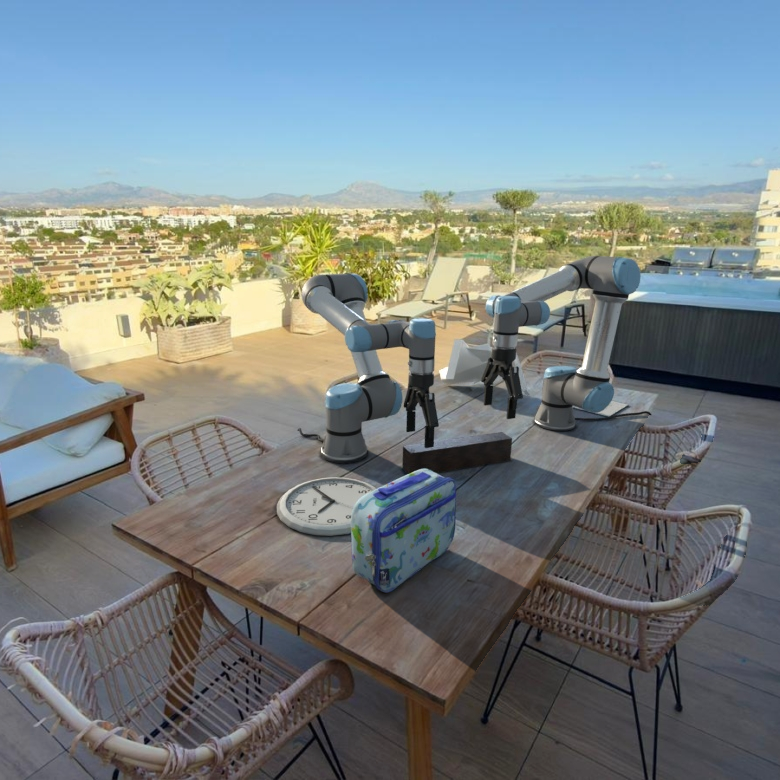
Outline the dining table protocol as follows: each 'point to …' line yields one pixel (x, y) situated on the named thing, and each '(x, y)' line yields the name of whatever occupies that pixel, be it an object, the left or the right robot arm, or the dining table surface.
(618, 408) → the invitation card
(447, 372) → the white plastic object
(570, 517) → the dining table surface
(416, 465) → the walnut beam
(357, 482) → the wall clock
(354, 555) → the lunch box
